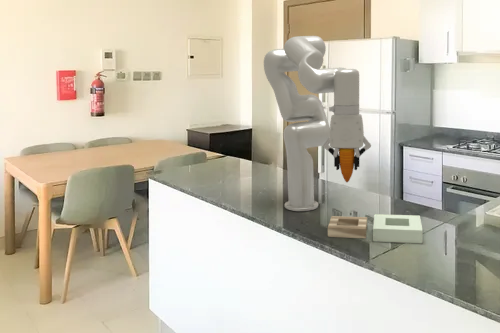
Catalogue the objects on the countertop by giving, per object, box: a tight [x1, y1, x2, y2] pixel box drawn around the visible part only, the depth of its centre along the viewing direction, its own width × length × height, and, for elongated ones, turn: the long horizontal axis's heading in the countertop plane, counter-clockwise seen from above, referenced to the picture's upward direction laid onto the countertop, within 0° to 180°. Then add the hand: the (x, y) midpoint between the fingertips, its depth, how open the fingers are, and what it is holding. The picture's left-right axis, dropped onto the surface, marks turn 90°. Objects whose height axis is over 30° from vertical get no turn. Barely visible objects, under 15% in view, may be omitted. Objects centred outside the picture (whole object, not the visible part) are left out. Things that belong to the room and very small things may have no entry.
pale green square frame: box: [372, 213, 424, 244], centre depth 158 cm, size 14×14×4 cm
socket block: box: [327, 215, 368, 239], centre depth 163 cm, size 12×12×3 cm
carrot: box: [338, 148, 355, 183], centre depth 159 cm, size 5×5×15 cm
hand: (346, 168), depth 159 cm, fingers closed on carrot, 4 cm apart
